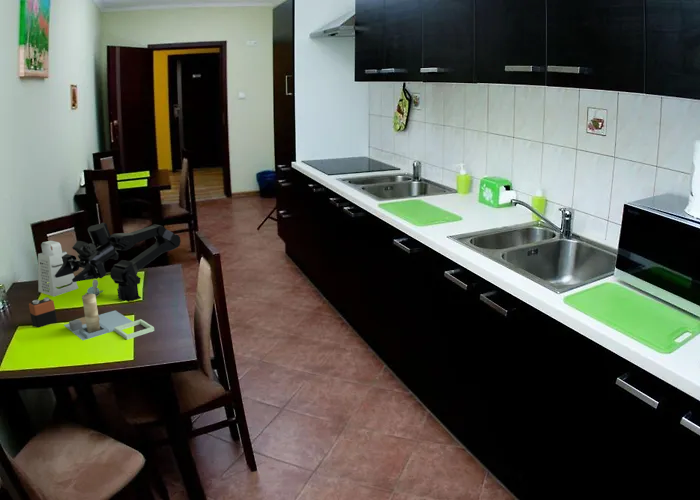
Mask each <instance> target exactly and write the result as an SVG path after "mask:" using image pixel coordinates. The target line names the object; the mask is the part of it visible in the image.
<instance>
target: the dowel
mask: <svg viewBox="0 0 700 500" xmlns="http://www.w3.org/2000/svg"><path fill="white" fill-rule="evenodd" d="M85 294H86V293H85ZM85 294H84V295H82V296H81V299H82V305H83V311H84V317H85V319H86V326H87V332H88V333H89V334H90V333H93V332H96V331H99V330H100V323H99V316H98V315H99V309H98V305H97V304H98V303H97V297H96V296H95V294H86V295H85Z"/></svg>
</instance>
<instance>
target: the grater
mask: <svg viewBox="0 0 700 500" xmlns="http://www.w3.org/2000/svg"><path fill="white" fill-rule="evenodd" d="M40 247H41V252H40V253H38V254H37V260H38V261H37V263H38V264H37V270H38V272H37V273H38V279H37V280H38V285H37V286H38V293H41V294H45V295H49V296H50V297H56V296H60V295H63V294H66V293H68V292H71V291H75V290H77V289H79V286H78V283H77V282H73V281H72V279H73V278H74V277H75V275H74V273H72V274H69V275H65V276H62V277H58V278H56V277H55V274H56V273H57V272H58V270H59V269H60V268H61V267H62V265H63V261H62V256H64V255H65V254H68V251H65V250H63V249H62V244H61V243H60V242H59V241H54V240H48V241H43V242H42V243H40ZM63 286H64V287H63Z"/></svg>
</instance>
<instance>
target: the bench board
mask: <svg viewBox="0 0 700 500" xmlns="http://www.w3.org/2000/svg"><path fill="white" fill-rule="evenodd" d="M98 316H99V323H100V330H99V331H96V332H93V333H90V334H89V333H88V332H87V326H86V319H85V316H82V317H79V318H77V319H74V320H73V319H72V320H70V321H69V322H68V323H65V324H63V326H64V327H65V328H67V329H68V330H69V331H71V332H72V333H73V334H74V335H75V336H77V337H78V338H79V339H80V340H82V341H85V340H90V339H92V338H95V337H99V336H103V335H105V334H108V333H111V332H115V329H114V327H117V326H120V325H124V324H127V323H130V322H133V321H132V319H130V318H128V317H126V316H125V315H123V314H122V313H120V312H118V311H117V310H116V309H115V310H111V311H108V312H105V313H101V314H98Z"/></svg>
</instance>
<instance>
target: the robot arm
mask: <svg viewBox="0 0 700 500" xmlns="http://www.w3.org/2000/svg"><path fill="white" fill-rule="evenodd" d="M87 232H88V235H89V236H90V238H91V242H92V243H88V242H86V241H82V240H77V241H76V242H75V243H74V245H73V246H72V247H71V249H72V250H74V251H75V253H77V254H78V255H77V256H75V255H73V254H70V253H69V254H68V253H67V254H65V255H64V256H62V261H63V265H62V267H61V268H60V269H59V270H58V272H57V273H56V274H55V277H56V278H58V277H62V276H65V275H69V274H72V273H73V274H74V273H75V272H77V271H79V270H80V268H82V270H81V271H80V272H79V273H77V275H74V278H73V279H72V281H73V282H76V283H77V282H81V281H88V280H94V279H95V280H98V279H103V278H105V276H106V275H107V270H106V269H105V262H107V261H108V260H109V259H110V260H115V261H117V260H118V259H119V255H120V254H119V252H117V250H118V251H123V252H125V251H128V250H130V249H131V248H133V247H134V246H135V244H137V243H141V242H143V241H147V240H149V239H152V238H154V239H156V240H155V243H154V244H152V245H151V246H150V247H148V248H146V249H145V250H144V251H143V252H141V253H140V254H138V255H137V256H135V257H133V258H132V259H131V260H125V259H121V260H120V261H118V262H117V263H115V264H113V267H112V268H111V269H110V273H109V274H110V278H111V279H112V280H113V282H114V284H116V285H117V287H118V288H116V289H117V296H118V297H117V298H118V300H120V301H121V302H131V301H136V300H139V299H141V298H142V297H141V296H140V294H139V287H138V285H139V284H140V283H141V277H139V276H138V272H139V271H140V270H141V269H143V268H144V267H146V266H147V265H148V264H150V263H151V262H153V261H154V260H155V259H156V258H157V257H159V256H161V255H162V254H164V253H166V252H170V251H173V250H176V249H177V248H179V247H180V245H181V242H182V241H181V237H180V235H179V234H177V233H174V232H172V231H170V230H168V229H167V228H166V227H164V226H163V225H161V224H152V225H150V226H147V227H144V228H140V229H137V230H133V231H132V232H120V233H113V234H110V231H109V228H108V225H107V223H106V222H101V223H97V224H94V225H90V226H89V227H88V228H87ZM77 257H78V259H79V260H78V259H77Z"/></svg>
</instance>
